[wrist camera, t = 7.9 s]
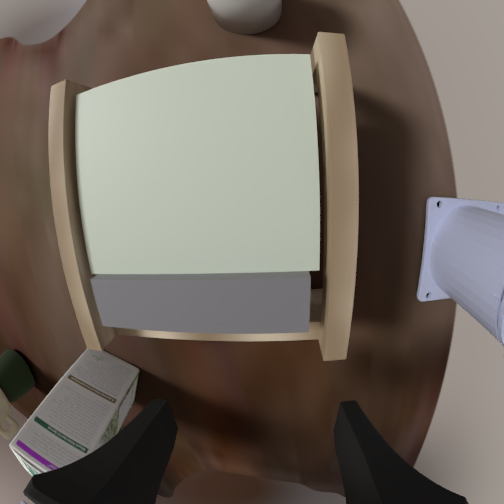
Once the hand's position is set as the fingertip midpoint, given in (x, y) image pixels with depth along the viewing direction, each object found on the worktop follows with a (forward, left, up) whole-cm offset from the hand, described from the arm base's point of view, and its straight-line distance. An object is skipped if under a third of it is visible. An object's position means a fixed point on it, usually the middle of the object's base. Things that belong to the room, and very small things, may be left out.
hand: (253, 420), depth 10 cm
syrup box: (+15, +8, -11) cm, 20 cm away
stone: (0, -22, -10) cm, 24 cm away
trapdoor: (+3, -9, -5) cm, 11 cm away
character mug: (+33, +11, -11) cm, 36 cm away
